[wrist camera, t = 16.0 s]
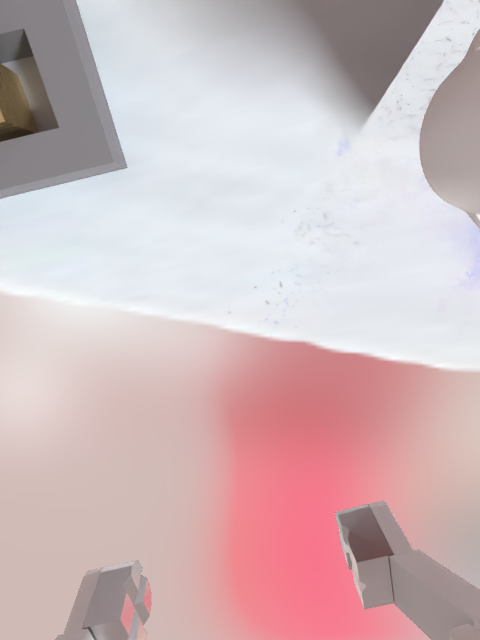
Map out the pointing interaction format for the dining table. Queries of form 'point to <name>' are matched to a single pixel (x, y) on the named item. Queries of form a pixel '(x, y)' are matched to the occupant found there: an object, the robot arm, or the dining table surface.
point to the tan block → (14, 108)
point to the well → (55, 99)
